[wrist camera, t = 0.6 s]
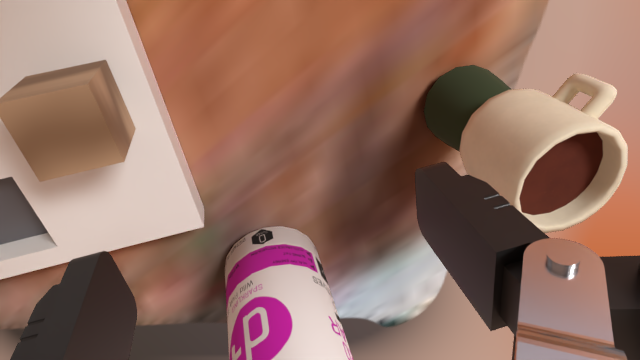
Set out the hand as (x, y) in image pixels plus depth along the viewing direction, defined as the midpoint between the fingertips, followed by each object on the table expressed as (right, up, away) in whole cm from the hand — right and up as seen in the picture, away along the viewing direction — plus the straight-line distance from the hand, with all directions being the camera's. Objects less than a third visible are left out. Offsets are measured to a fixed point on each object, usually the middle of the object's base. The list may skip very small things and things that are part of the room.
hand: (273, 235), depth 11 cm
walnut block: (-13, +6, +15) cm, 20 cm away
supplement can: (-3, -6, +27) cm, 28 cm away
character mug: (+12, +8, +23) cm, 28 cm away
